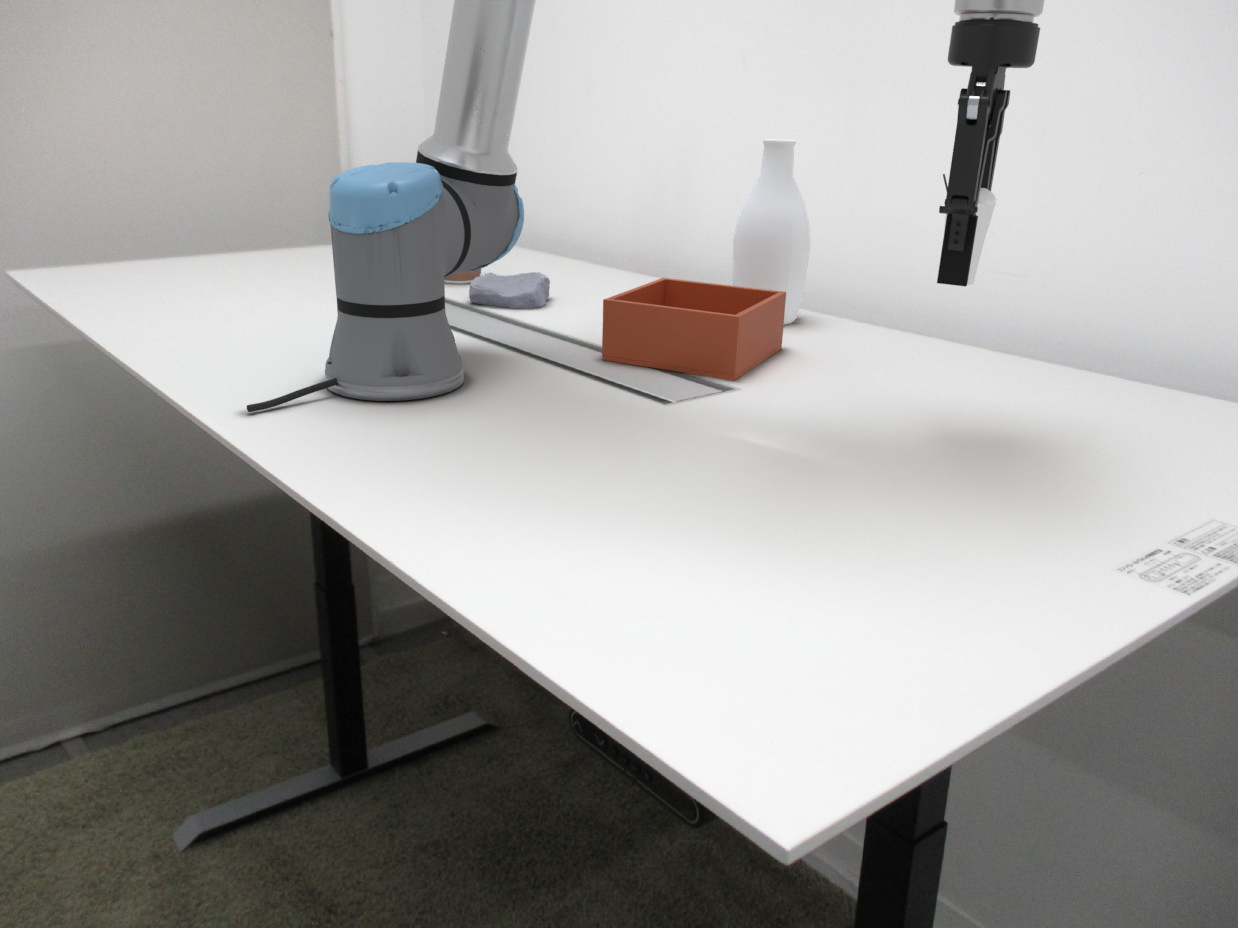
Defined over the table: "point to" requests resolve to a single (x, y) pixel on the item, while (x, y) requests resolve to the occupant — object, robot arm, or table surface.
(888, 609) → the table surface
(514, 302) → the stone block
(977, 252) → the milkshake
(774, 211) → the bottle
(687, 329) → the bin
